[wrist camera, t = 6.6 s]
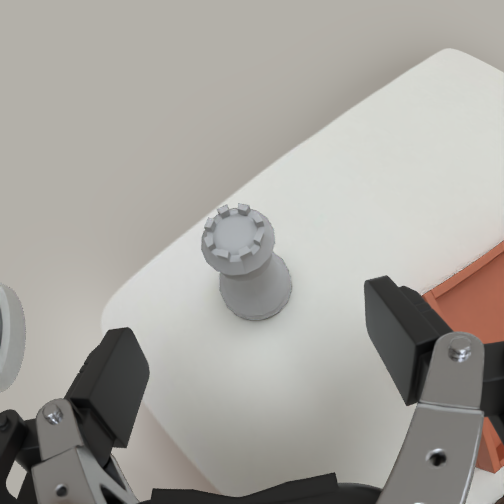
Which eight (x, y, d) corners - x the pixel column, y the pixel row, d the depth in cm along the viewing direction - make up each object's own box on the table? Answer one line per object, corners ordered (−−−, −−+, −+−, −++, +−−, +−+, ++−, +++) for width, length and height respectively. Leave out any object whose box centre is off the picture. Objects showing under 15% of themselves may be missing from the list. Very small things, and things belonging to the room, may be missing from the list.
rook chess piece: (300, 310, 19) (302, 263, 12) (230, 329, 19) (189, 294, 12) (281, 247, 21) (271, 173, 14) (216, 265, 21) (175, 201, 14)
